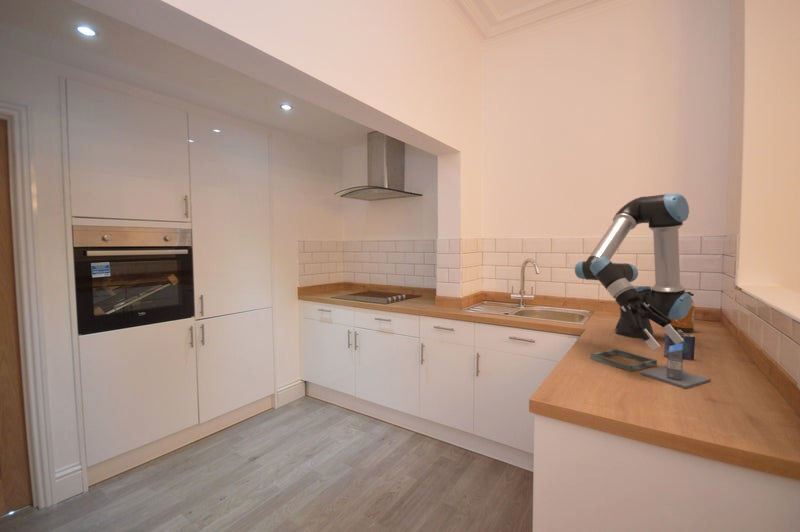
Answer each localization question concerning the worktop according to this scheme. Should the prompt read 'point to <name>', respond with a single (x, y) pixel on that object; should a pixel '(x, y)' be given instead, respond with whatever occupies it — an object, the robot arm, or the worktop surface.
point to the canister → (685, 320)
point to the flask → (687, 347)
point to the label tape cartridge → (675, 361)
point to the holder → (644, 363)
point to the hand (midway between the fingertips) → (668, 345)
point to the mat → (685, 382)
